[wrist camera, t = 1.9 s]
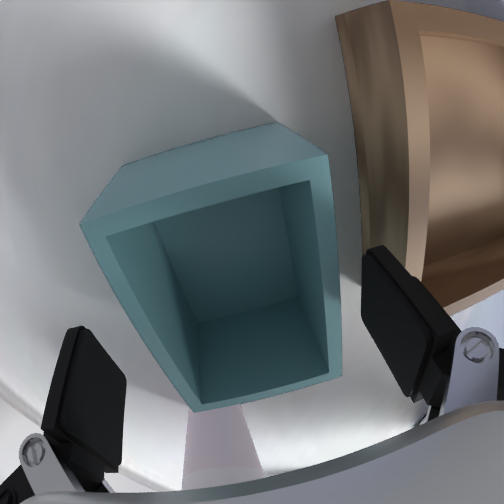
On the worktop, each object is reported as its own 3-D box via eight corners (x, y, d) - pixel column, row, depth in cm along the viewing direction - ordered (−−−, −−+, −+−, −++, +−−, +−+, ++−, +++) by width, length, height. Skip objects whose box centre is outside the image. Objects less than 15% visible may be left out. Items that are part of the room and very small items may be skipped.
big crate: (515, 230, 19) (552, 260, 15) (362, 287, 19) (396, 339, 15) (525, 40, 11) (575, 50, 7) (334, 16, 11) (389, 0, 7)
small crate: (306, 295, 18) (341, 375, 13) (190, 325, 18) (193, 412, 13) (277, 121, 13) (328, 154, 8) (123, 164, 13) (79, 224, 8)
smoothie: (204, 364, 20) (229, 577, 8) (273, 391, 23) (316, 561, 11) (157, 404, 22) (163, 575, 10) (221, 425, 25) (245, 573, 13)
